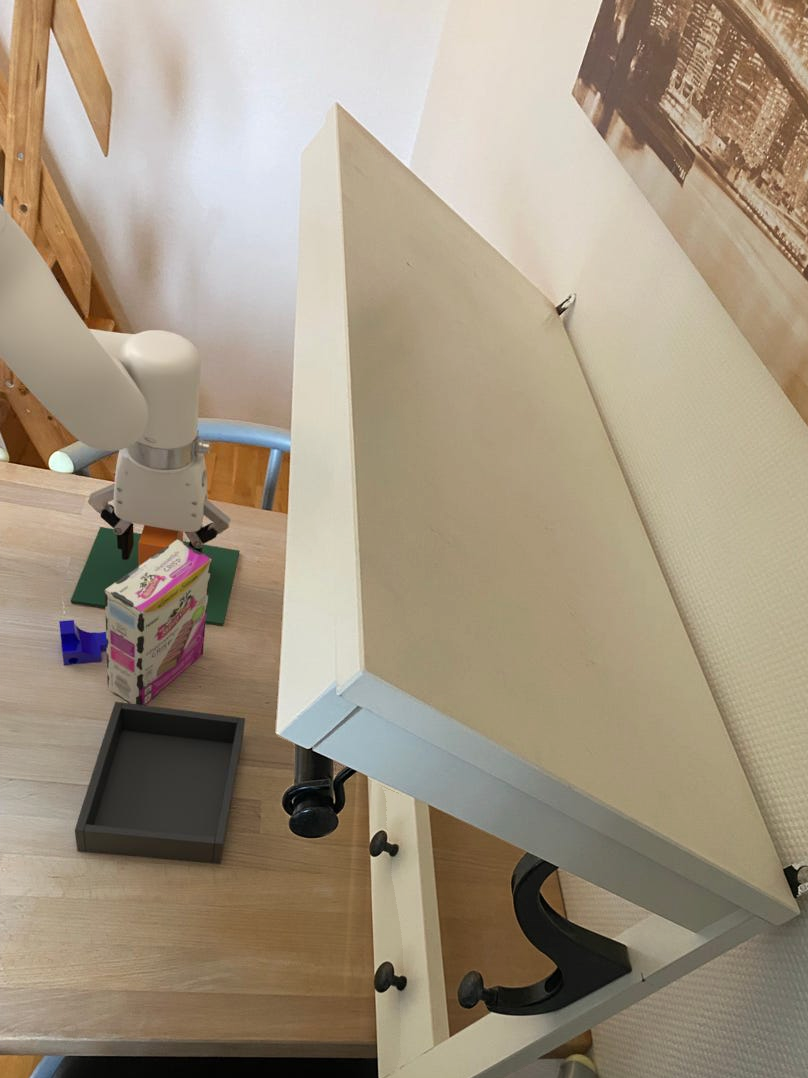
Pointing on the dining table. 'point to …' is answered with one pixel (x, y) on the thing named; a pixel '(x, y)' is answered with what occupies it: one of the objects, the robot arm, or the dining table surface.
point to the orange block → (156, 541)
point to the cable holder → (81, 644)
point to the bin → (162, 785)
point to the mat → (111, 567)
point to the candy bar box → (156, 622)
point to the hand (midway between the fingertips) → (160, 557)
